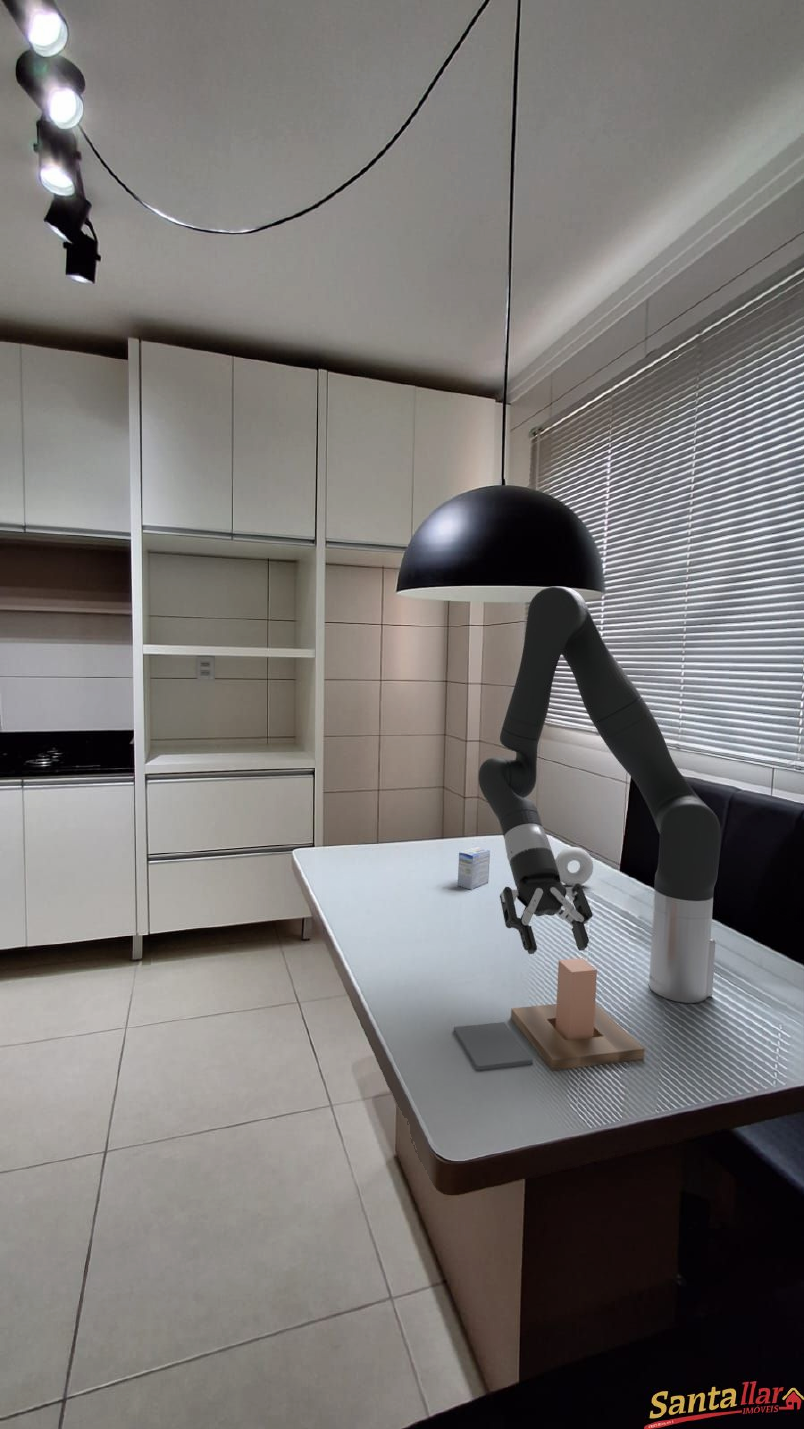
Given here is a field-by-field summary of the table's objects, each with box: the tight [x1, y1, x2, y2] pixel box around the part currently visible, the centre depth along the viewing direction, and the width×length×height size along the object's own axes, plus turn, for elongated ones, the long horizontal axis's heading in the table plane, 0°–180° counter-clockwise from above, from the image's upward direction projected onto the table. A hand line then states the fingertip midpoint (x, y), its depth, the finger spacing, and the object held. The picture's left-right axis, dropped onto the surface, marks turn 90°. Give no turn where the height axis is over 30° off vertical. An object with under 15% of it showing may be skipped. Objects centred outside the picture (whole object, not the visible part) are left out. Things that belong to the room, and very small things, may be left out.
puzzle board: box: [510, 1002, 645, 1072], centre depth 98 cm, size 14×14×2 cm
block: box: [555, 957, 598, 1041], centre depth 98 cm, size 4×4×11 cm
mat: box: [453, 1021, 534, 1072], centre depth 95 cm, size 8×10×1 cm
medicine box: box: [457, 846, 491, 890], centre depth 168 cm, size 8×4×9 cm, turn 141°
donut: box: [555, 846, 594, 887], centre depth 170 cm, size 10×4×10 cm, turn 92°
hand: (558, 950), depth 103 cm, fingers open, 8 cm apart
